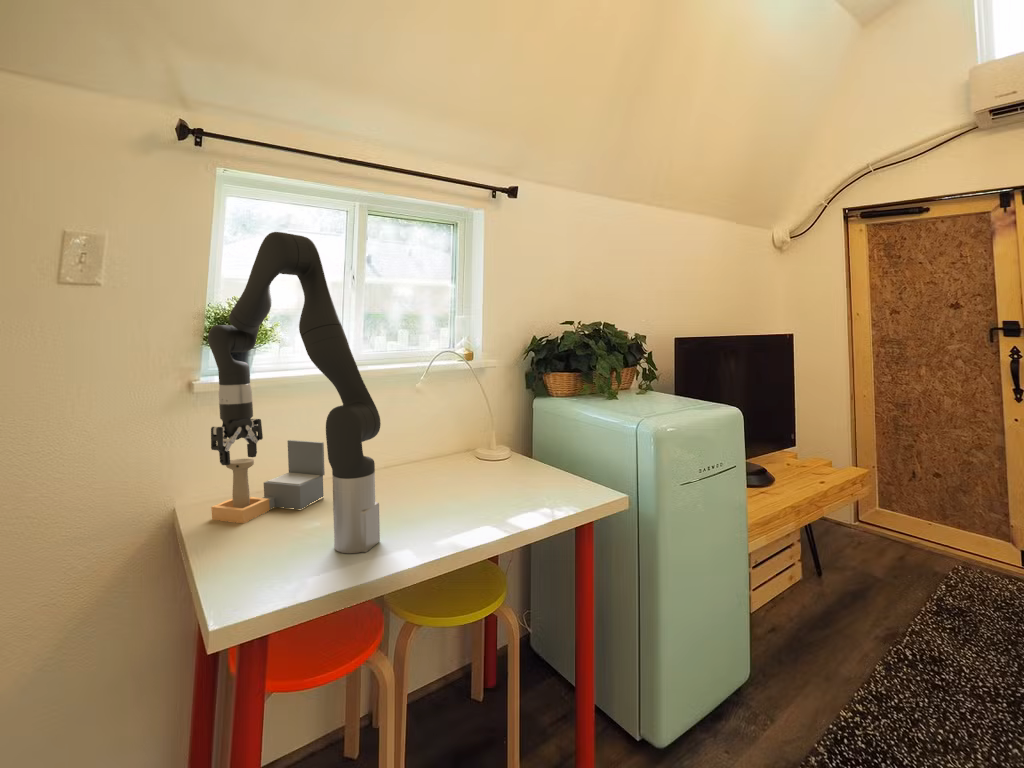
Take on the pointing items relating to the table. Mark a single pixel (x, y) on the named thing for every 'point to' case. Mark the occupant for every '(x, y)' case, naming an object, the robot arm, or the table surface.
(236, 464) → the handle
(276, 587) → the table surface
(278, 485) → the chair with orange tray
